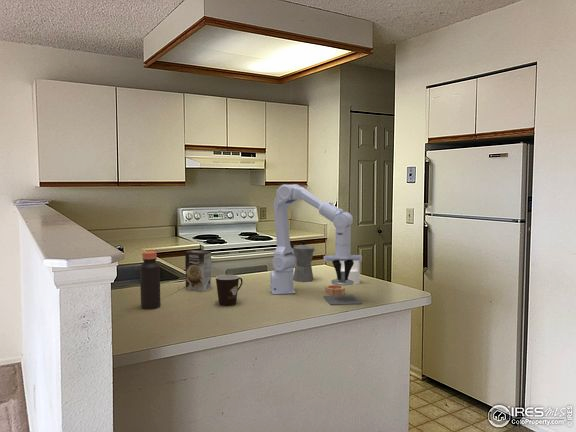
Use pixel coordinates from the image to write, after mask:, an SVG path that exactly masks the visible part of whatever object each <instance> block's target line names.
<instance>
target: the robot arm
mask: <svg viewBox="0 0 576 432" xmlns="http://www.w3.org/2000/svg"><path fill="white" fill-rule="evenodd" d="M275 192H276V196H275V198H274V201H273V213H274V214H273V215H274V225H275V226H274V227H275V237H276V238H275V239H276V248H275V250H274V251H273V259H272V263H271V264H272V266H273V268H274V270H271V271H270V277H269V278H270V280H269V281H270V284H269V290H270V292H271V294H272V295H281V294H282V295H283V294H285V295H286V294H296V291H295V289H294V279H293V278H294V270H295V266H296V257H295V255H294V249H292V247H291V238H290V226H289V214H288V213H289V212H288V208H289V207H290V206H291V204H293V202H295V201H298V200H301V201H304V202H306V203H307V204H309V205H310V206H311V207H314V208H315V209H316V210H318V213H319V215H321V217H324V218H325V219H327V220H329V221H330V222H331V223H332V224H333V226H334V227H335V239H334V240H335V242H334V243H335V244H334V245H335V250H334V251H335V254H332V255H331V254H330V255H323V262H325V263H326V262H327V263H328V262H332V265H333V267H334V271H335V274H336V277H337V278H336V279H338V280H341V263H340V261H344V266H345V272H346V274H345V280H348V276H349V273H350V270H351V268H352V266H353V264H354V262H353V261H357V260H359V261H360V262H362V261H363V256H362V255H361V254H351V249H352V248H351V247H352V246H351V245H352V244H351V243H352V241H351V240H352V239H351V238H352V237H351V234H352V233H351V231H352V229H351V226H352V225H353V223H354V218H353V215H352V214H351V213H350V212H349V211H344V209H342V208H339V207H337V206H335V204H334V202H333V201H328V200H327V201H324V202H323V201H322V200H321V199H320V198H318V197H317V196H315V195H314V194H313V193H311V192H309V191H308V190H307V189H306V188H305V187H303V186H301V185H299V184H297V183H294V184H281V185H280V186H279V188H277V189H276V191H275Z"/></svg>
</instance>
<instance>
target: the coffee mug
mask: <svg viewBox="0 0 576 432" xmlns="http://www.w3.org/2000/svg"><path fill="white" fill-rule="evenodd" d="M215 281H216V282H215V283H216V290H217V298H218V299H217V300H218V305H219V306H223V307H232V306H235V305H237V300H238V293H239V292H238V291H239V290H240V289H241V287H242V285H243V278H242V277H240V276H239V275H236V274H222V275H217V276H215ZM239 281H240V282H239ZM239 283H240V285H239Z"/></svg>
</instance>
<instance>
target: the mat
mask: <svg viewBox="0 0 576 432" xmlns="http://www.w3.org/2000/svg"><path fill="white" fill-rule="evenodd" d="M323 298H324V300H325V301H326V302H327V303H328V304H329V306H346V305H347V306H348V305H363V302H362V301H360V299H359V298H357V297H356V296H355V295H354V294H343V295H323Z"/></svg>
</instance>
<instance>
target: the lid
mask: <svg viewBox="0 0 576 432" xmlns="http://www.w3.org/2000/svg"><path fill="white" fill-rule="evenodd" d="M345 274H346V272H341V280H338V279H337V278H334V279H331V285H342V286H344V287H345V286H353V285H352V284H354V281H352V280H349V279H348V280H345Z"/></svg>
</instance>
